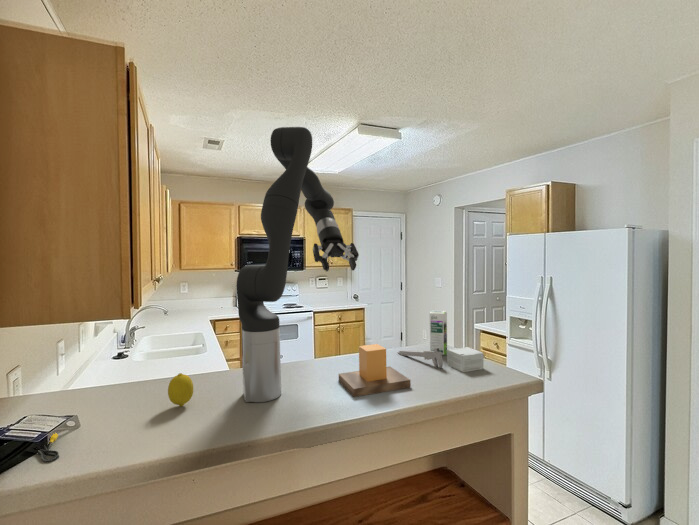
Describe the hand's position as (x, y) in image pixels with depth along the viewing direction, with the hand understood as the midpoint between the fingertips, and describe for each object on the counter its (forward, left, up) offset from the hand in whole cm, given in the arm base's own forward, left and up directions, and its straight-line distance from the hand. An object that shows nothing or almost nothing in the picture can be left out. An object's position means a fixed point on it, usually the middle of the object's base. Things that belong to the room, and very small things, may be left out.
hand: (340, 269), depth 112 cm
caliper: (+25, -3, -31) cm, 40 cm away
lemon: (-45, -12, -31) cm, 56 cm away
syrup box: (+36, +1, -31) cm, 47 cm away
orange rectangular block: (+3, -17, -29) cm, 33 cm away
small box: (+35, -15, -31) cm, 49 cm away
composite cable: (-68, -24, -31) cm, 78 cm away
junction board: (+3, -17, -31) cm, 35 cm away
